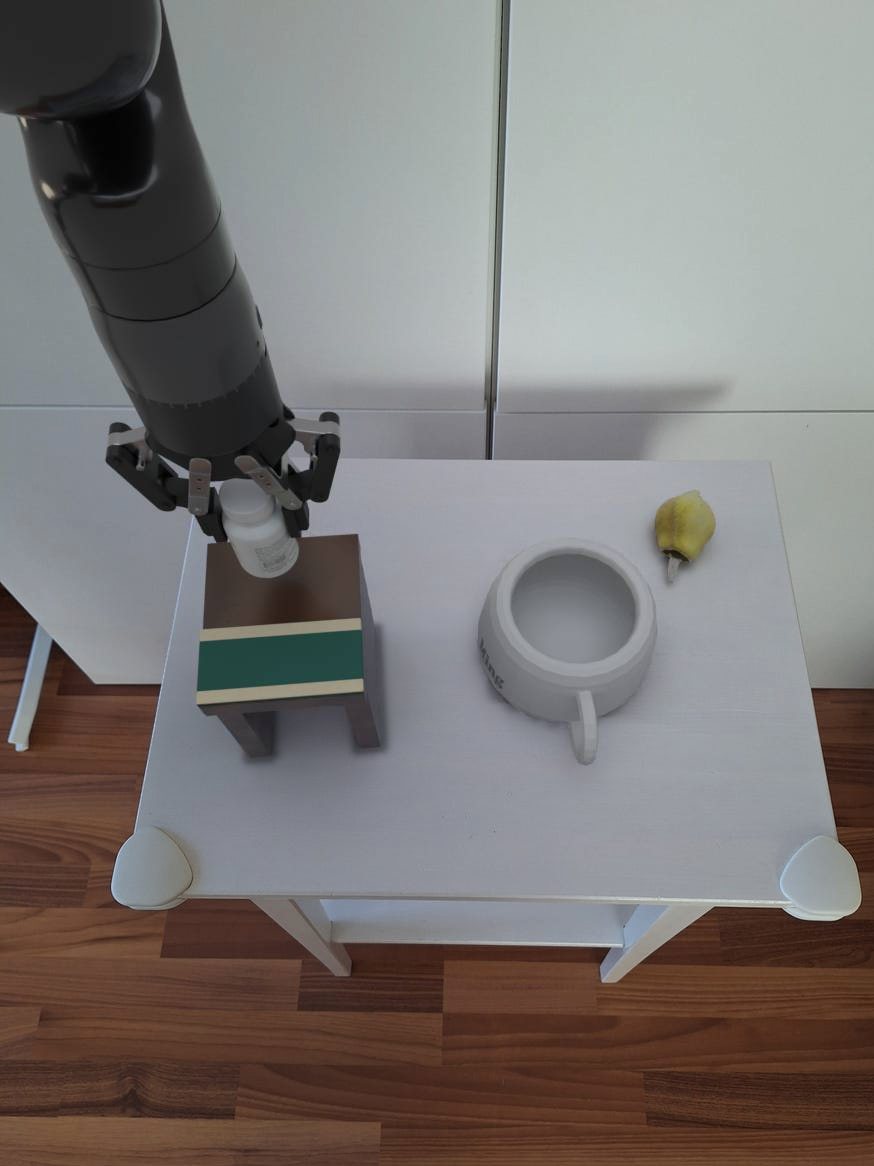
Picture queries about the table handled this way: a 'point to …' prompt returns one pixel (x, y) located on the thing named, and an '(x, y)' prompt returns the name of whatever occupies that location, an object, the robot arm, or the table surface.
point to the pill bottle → (256, 529)
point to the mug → (568, 634)
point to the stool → (302, 594)
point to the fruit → (683, 528)
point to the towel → (280, 662)
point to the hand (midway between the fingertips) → (260, 528)
